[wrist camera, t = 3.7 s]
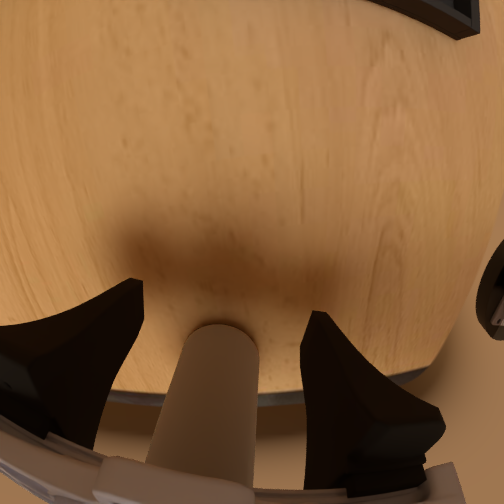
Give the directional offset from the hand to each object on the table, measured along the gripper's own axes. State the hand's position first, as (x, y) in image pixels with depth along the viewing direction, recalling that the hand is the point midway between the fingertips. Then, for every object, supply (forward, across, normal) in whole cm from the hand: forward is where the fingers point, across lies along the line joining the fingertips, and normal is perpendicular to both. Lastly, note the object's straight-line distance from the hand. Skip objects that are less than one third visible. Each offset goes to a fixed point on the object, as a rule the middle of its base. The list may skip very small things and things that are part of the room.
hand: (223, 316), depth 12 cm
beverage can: (+4, 0, +6) cm, 7 cm away
